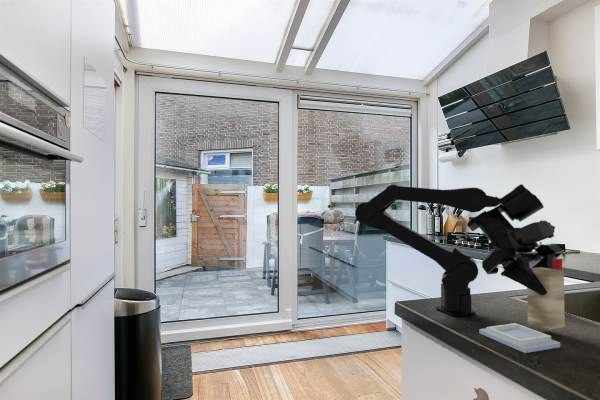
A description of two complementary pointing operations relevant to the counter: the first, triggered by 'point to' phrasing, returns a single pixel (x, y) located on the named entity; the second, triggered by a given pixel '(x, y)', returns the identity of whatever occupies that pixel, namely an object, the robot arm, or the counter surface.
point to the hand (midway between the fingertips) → (552, 293)
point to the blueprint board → (520, 337)
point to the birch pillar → (547, 300)
